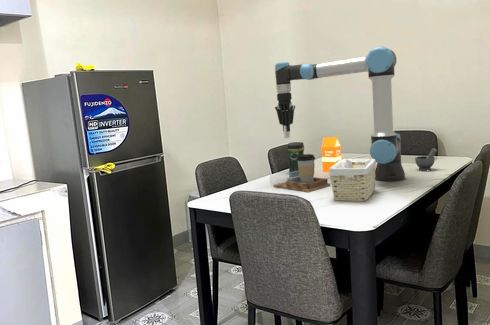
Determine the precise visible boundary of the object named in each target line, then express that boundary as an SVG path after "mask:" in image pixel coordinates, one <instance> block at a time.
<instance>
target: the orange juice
mask: <svg viewBox="0 0 490 325" xmlns="http://www.w3.org/2000/svg"><path fill="white" fill-rule="evenodd" d="M341 148H342V147H341V143H340V141H339V139H338V137H337V136H329V137H328V136H327V137H326V136H325V137H323V139H322V144H321V163H322V172H325V173H326V172H327V173H328V172H329V173H330V167H332V166H333V165H335V163H336V161H337V160H342V149H341Z"/></svg>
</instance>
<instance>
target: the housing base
mask: <svg viewBox="0 0 490 325" xmlns="http://www.w3.org/2000/svg"><path fill="white" fill-rule="evenodd" d="M328 187H331V183H329V182H328V178H322V177H315V176H314V182H312V183H308V184H307V183H300V182H292V181H287V180H286V181H283V182H278V183H274V184H273V188H276V189H278V188H279V189H285V190H291V191H297V192H302V191H303V193H311V191H312V192H314V191H318V190H321V189H325V188H328Z"/></svg>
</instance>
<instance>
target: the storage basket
mask: <svg viewBox="0 0 490 325" xmlns="http://www.w3.org/2000/svg"><path fill="white" fill-rule="evenodd" d="M353 165H355V166H357V165H358V166H359V165H360V166H363V165H364V166H365V167H358V168H353ZM376 166H377V162H376V160H375V159H372V158H343V159H342V158H341V161H339V162H337V163H336V164H335V165H333V166H332V167H330V172H329V177H330V182H331V183H330V184H331V189H332V194H333V195H332V196H333V200H335V201H351V202H357V201H359V202H365V201H368V200H369V199H370V197H371V196H372V194H373V193H374V191H375V190H376V179H375V169H376Z"/></svg>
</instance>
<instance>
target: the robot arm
mask: <svg viewBox="0 0 490 325" xmlns="http://www.w3.org/2000/svg"><path fill="white" fill-rule="evenodd" d="M396 64H397V55H396V53H395V52H394V51H393V50H392V49H390V48H389V47H386V46H376V47H374V48H372V49H371V50H370V51H369V52H368V53H367V54H366V55H365V56H359V57H358V56H357V57H354V58H353V57H352V58H345V59H340V60H333V61H328V62H320V63H314V64H311V63H300V64H294V65H290V62H288V61H281V62H277V63H275V64H274V69H275V70H274V71H275V72H274V74H275V85H276V93H277V94H276V100H277V101H278V103H277V106H275V107H274V109H275V111H276V114H277V118H278V122H279V123H278V124H279V125H281V126H282V131H283V138H284V139H289V138H291V135H290V132H291V125H293V124H294V115H295V110H296V105H293V104H292V83H291V81H298V80H308V81H311V80H316V79H317V80H318V79H321V78H330V77H334V76H335V77H337V76H344V75H351V74H359V73H368V79H369V80H370V81H371V88H372V109H373V110H372V112H373V113H372V114H373V132H372V134H371V135H370V141H371V142H370V144H371V145H370V147H369V155H370V157H371V159H375V160H376V165H375V166H376V169H375V181H381V182H394V181H402V180H404V179H406V173H405V170H404V166H403V165H402V152H401V151H402V150H401V149H402V148H401V147H402V146H401V145H402V144H401V143H402V142H401V140H402V139H401V134H399V133H396V132H395V131H394V122H393V121H394V120H393V96H392V95H393V92H392V79H393V78H394V76H395V66H396Z"/></svg>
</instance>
